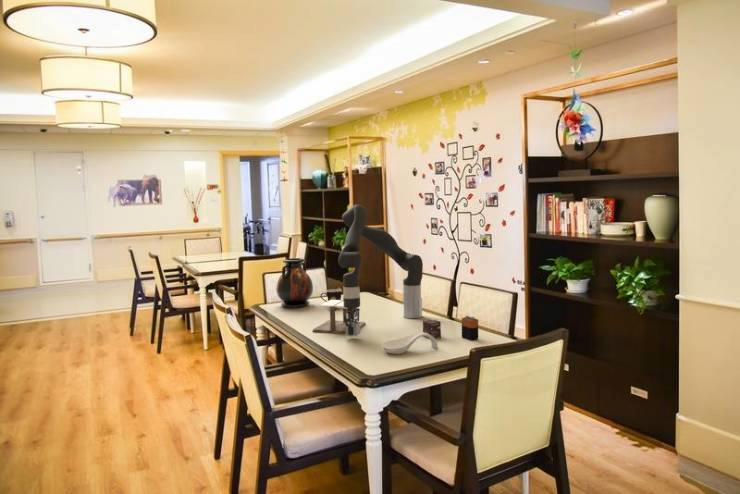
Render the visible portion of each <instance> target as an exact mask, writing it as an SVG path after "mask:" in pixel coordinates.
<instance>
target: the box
mask: <svg viewBox="0 0 740 494" xmlns="http://www.w3.org/2000/svg"><path fill="white" fill-rule="evenodd" d="M441 323H442V322H441V321H440V320H436V319H427V320H422V332H424V333H427V334H429V335H431V336H432V337H434V339H439V338H440V339H441V337H442V331H441V326H442V325H441ZM423 337H424V338H427V339H429V340H430V338H428V337H426V336H423Z"/></svg>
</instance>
